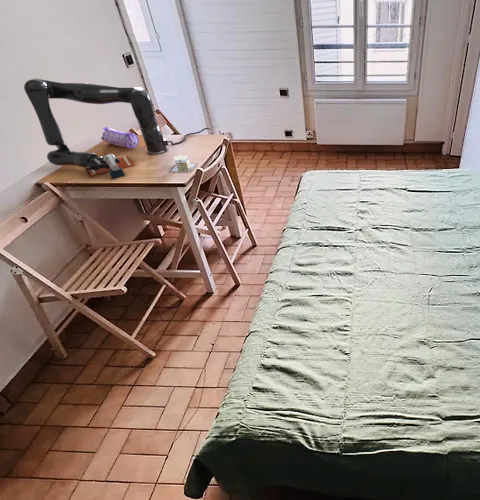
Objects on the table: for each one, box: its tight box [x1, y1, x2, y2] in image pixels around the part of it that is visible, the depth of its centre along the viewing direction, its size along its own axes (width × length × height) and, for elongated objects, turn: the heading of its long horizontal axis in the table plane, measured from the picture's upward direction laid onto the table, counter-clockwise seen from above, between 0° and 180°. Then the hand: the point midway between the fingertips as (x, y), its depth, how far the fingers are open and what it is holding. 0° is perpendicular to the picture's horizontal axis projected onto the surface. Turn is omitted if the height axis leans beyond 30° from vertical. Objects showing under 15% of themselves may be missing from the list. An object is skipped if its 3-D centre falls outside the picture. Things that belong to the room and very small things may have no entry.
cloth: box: [88, 155, 135, 177], centre depth 199 cm, size 20×14×1 cm
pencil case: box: [100, 126, 140, 150], centre depth 219 cm, size 22×9×10 cm, turn 63°
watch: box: [103, 153, 125, 180], centre depth 186 cm, size 6×8×11 cm
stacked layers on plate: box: [170, 154, 196, 173], centre depth 195 cm, size 10×9×6 cm
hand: (114, 163), depth 186 cm, fingers open, 6 cm apart
